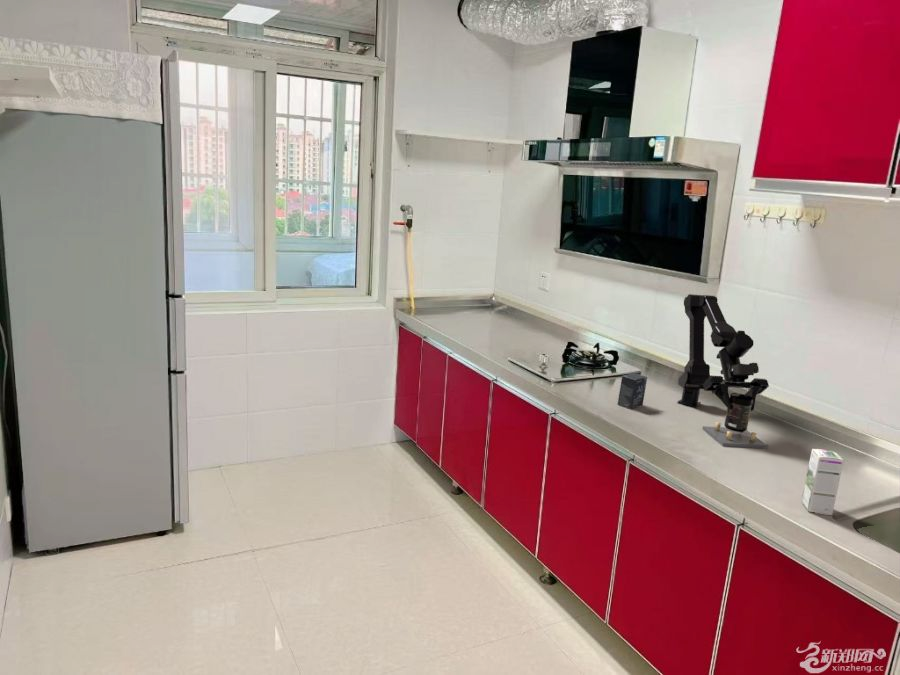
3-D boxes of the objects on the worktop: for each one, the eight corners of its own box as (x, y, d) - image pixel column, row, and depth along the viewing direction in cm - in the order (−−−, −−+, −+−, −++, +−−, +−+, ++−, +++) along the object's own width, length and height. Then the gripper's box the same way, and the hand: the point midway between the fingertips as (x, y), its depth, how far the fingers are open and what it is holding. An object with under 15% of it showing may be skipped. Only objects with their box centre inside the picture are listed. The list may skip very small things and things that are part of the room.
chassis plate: (702, 429, 221) (704, 418, 220) (744, 431, 222) (746, 421, 221) (722, 446, 207) (724, 435, 206) (767, 448, 208) (769, 437, 208)
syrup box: (832, 516, 166) (845, 459, 163) (806, 512, 167) (819, 456, 164) (824, 505, 172) (837, 451, 169) (799, 501, 173) (811, 447, 169)
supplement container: (749, 429, 215) (755, 397, 212) (743, 434, 209) (750, 401, 207) (727, 422, 219) (733, 391, 216) (720, 428, 213) (727, 395, 211)
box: (631, 409, 234) (636, 379, 232) (617, 404, 238) (621, 375, 236) (643, 405, 240) (647, 376, 237) (628, 401, 244) (633, 372, 241)
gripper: (714, 350, 211) (724, 396, 203) (772, 354, 213) (784, 400, 205) (698, 367, 221) (707, 412, 213) (754, 371, 223) (765, 415, 215)
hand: (741, 409), depth 211 cm, fingers closed on supplement container, 7 cm apart
